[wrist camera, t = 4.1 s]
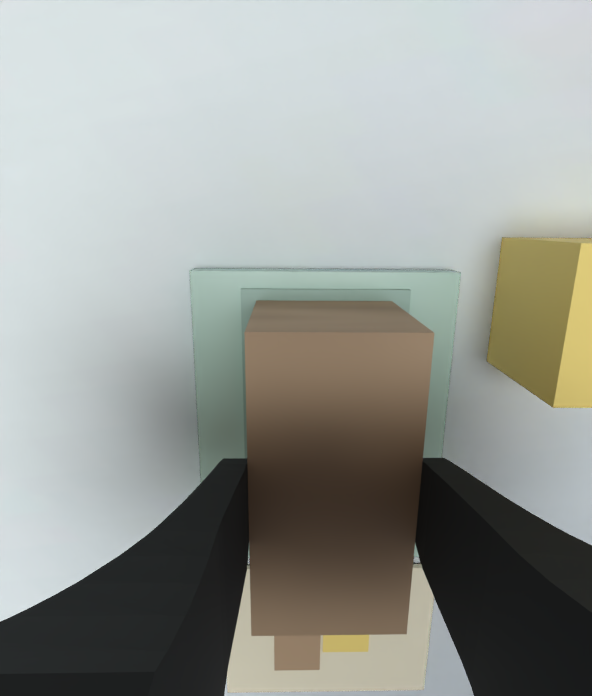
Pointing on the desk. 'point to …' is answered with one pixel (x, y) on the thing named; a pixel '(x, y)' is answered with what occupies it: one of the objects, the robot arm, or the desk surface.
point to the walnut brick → (334, 464)
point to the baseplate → (302, 285)
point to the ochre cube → (545, 318)
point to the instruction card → (333, 654)
